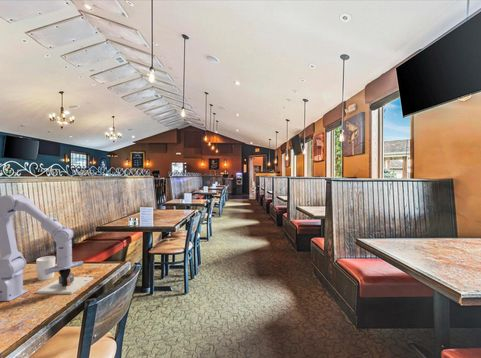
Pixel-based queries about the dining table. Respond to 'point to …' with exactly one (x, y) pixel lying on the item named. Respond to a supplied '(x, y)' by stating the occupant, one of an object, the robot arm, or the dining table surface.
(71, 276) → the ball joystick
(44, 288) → the joystick base
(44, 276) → the white cup
